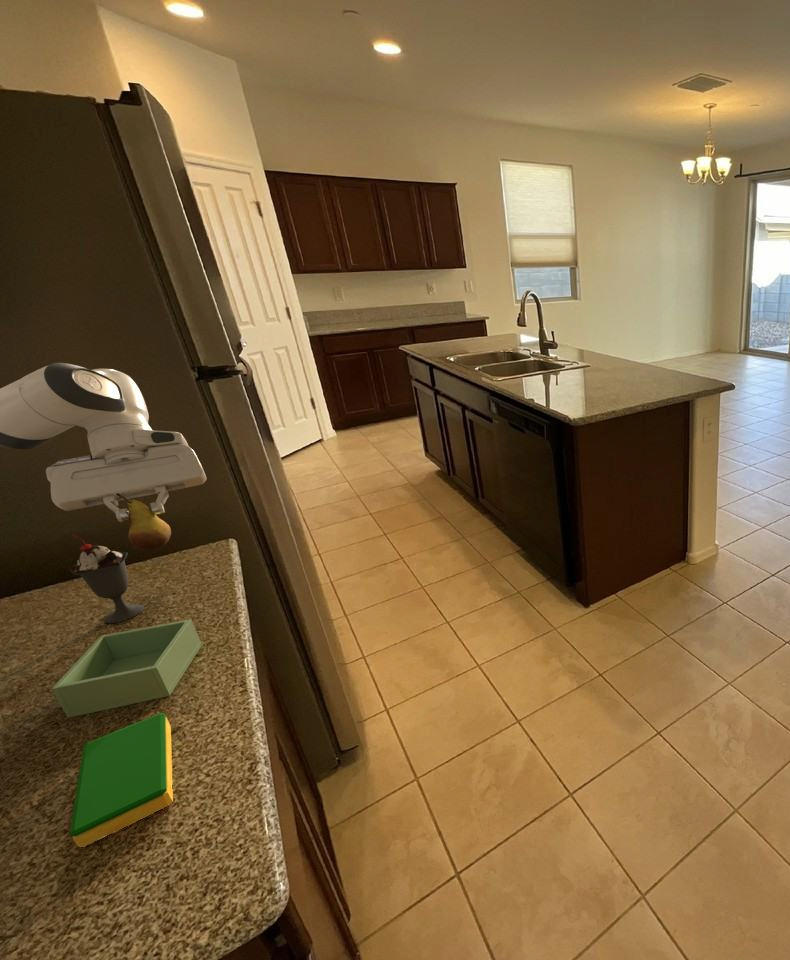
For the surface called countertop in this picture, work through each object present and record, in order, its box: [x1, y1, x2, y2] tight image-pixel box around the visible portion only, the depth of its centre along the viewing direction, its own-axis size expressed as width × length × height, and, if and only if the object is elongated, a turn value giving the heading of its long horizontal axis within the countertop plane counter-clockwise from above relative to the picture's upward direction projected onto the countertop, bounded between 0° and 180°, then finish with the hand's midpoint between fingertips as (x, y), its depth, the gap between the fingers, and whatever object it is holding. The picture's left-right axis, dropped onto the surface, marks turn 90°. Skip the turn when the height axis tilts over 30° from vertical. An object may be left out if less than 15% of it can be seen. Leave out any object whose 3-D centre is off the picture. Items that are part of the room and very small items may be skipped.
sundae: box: [68, 534, 145, 624], centre depth 83 cm, size 7×7×15 cm
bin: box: [51, 618, 203, 719], centre depth 71 cm, size 11×11×5 cm
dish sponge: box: [69, 712, 174, 848], centre depth 57 cm, size 7×14×2 cm, turn 41°
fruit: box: [116, 493, 172, 551], centre depth 93 cm, size 6×6×12 cm
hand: (142, 516), depth 92 cm, fingers closed on fruit, 3 cm apart
